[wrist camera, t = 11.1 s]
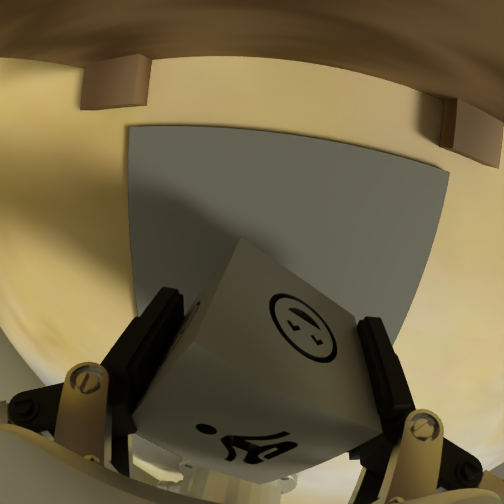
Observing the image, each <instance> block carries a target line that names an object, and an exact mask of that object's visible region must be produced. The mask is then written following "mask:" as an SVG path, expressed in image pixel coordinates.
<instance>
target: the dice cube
mask: <svg viewBox="0 0 504 504" xmlns="http://www.w3.org/2000/svg"><path fill="white" fill-rule="evenodd" d="M131 417H132V419H133V421H134V424H135V426H136V428H137V431H136V433H135V434H137V435H139V436H141V437H142V438H144V439H146V440H148V441H150V442H152V443H154V444H156V445H158V446H160V447H162V448H164V449H166V450H168V451H170V452H172V453H174V454H177V455H179V456H181V457H183V458H185V459H188V460H190V461H193V462H195V463H197V464H200V465H202V466H205V467H207V468H210V469H213V470H215V471H218V472H221V473H224V474H227V475H230V476H233V477H236V478H239V479H242V480H245V481H249V482H252V483H256V484H259V485H261V484H264V483H268V482H271V481H274V480H277V479H280V478H283V477H286V476H289V475H292V474H295V473H298V472H300V471H303V470H306V469H308V468H311V467H313V466H316V465H318V464H321V463H323V462H325V461H328V460H330V459H332V458H334V457H337V456H339V455H341V454H343V453H345V452H347V451H349V450H351V449H353V448H355V447H357V446H359V445H361V444H363V443H365V442H367V441H369V440H370V439H372V438H374V437H376V436H378V435H379V434H381V433H383V432H382V427H381V422H380V417H379V415H378V413H377V408H376V403H375V398H374V394H373V389H372V385H371V381H370V376H369V372H368V368H367V364H366V360H365V356H364V352H363V349H362V345H361V341H360V337H359V334H358V330H357V324H356V320H355V317H354V315H352V314H351V313H349V312H348V311H346V310H345V309H344V308H342V307H341V306H339V305H338V304H337V303H335V302H334V301H332V300H331V299H329V298H328V297H327V296H325V295H324V294H322V293H321V292H320V291H318V290H317V289H315V288H314V287H312V286H311V285H310V284H308V283H307V282H305V281H304V280H303V279H301V278H300V277H298V276H297V275H295V274H294V273H293V272H291V271H290V270H288V269H287V268H285V267H284V266H283V265H281V264H280V263H278V262H277V261H275V260H274V259H273V258H271V257H270V256H268V255H267V254H265V253H264V252H263V251H261V250H260V249H258V248H257V247H255V246H254V245H253V244H251V243H250V242H248V241H247V240H245V239H244V238H243V237H241V238H240V239H239V240H238V242H237V243H236V244H235V246H234V247H233V248H232V250H231V251H230V253H229V254H228V255H227V257H226V258H225V259H224V261H223V262H222V263H221V265H220V266H219V268H218V269H217V270H216V272H215V273H214V274H213V276H212V277H211V279H210V280H209V281H208V283H207V284H206V285H205V287H204V288H203V290H202V291H201V292H200V294H199V295H198V297H197V298H196V299H195V301H194V302H193V303H192V305H191V306H190V308H189V309H188V310H187V312H186V313H185V315H184V319H183V321H182V323H181V324H180V326H179V328H178V330H177V332H176V334H175V336H174V337H173V339H172V341H171V343H170V345H169V347H168V349H167V351H166V353H165V355H164V357H163V359H162V361H161V362H160V364H159V366H158V368H157V370H156V372H155V373H154V375H153V377H152V379H151V381H150V383H149V385H148V387H147V389H146V391H145V393H144V395H143V396H142V398H141V399H140V400H139V401H138V404H137V406H136V407H135V409H134V411H133V413H132V415H131Z"/></svg>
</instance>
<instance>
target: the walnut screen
mask: <svg viewBox="0 0 504 504" xmlns="http://www.w3.org/2000/svg"><path fill="white" fill-rule="evenodd" d="M191 56H248V57H264V58H276V59H285V60H294V61H301V62H308V63H315V64H321V65H326V66H332V67H337V68H342V69H346V70H351V71H355V72H359V73H363V74H367V75H371V76H375V77H378V78H382V79H385V80H389V81H392V82H395V83H398V84H402V85H405V86H408V87H410V88H413V89H416V90H419V91H422V92H424V93H427V94H430V95H432V96H435V97H437V98H440V99H442V100H444V108H443V120H442V130H441V138H440V146H439V147H441V148H444V149H447V150H449V151H452V152H455V153H457V154H460V155H462V156H465V157H467V158H470V159H472V160H474V161H477V162H479V163H481V164H483V165H486V166H490V167H494V168H498V169H499V164H500V157H501V148H502V139H503V126H504V0H0V57H3V58H17V59H28V60H37V61H45V62H52V63H58V64H64V65H70V66H75V67H81V68H85V72H84V79H83V87H82V96H81V107H80V110H103V109H111V108H121V107H133V106H147V96H148V87H149V79H150V71H151V64H152V60H154V59H164V58H175V57H191Z"/></svg>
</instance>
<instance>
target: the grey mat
mask: <svg viewBox="0 0 504 504" xmlns="http://www.w3.org/2000/svg"><path fill="white" fill-rule="evenodd" d="M449 175H450V172H448V171H445V170H442V169H439V168H436V167H433V166H430V165H426V164H423V163H420V162H416V161H413V160H410V159H406V158H402V157H399V156H395V155H391V154H387V153H383V152H379V151H375V150H371V149H367V148H362V147H358V146H353V145H348V144H343V143H338V142H333V141H327V140H322V139H316V138H310V137H303V136H297V135H290V134H282V133H274V132H265V131H256V130H245V129H232V128H217V127H193V126H142V127H130V134H129V158H128V206H129V231H130V246H131V259H132V270H133V280H134V289H135V297H136V304H137V311H138V317H140V316H141V314H142V313H143V312H144V310H145V309H146V308H147V306H148V305H149V304H150V302H151V301H152V300H153V298H154V297H155V296H156V294H157V293H158V292H159V290H160V289H161V288H162V287H169V288H174V289H178V290H179V294H183V297H184V315H185V313H186V312H187V310H188V309H189V308H190V306H191V305H192V303H193V302H194V301H195V299H196V298H197V297H198V295H199V294H200V292H201V291H202V290H203V288H204V287H205V285H206V284H207V283H208V281H209V280H210V279H211V277H212V276H213V274H214V273H215V272H216V270H217V269H218V268H219V266H220V265H221V263H222V262H223V261H224V259H225V258H226V257H227V255H228V254H229V253H230V251H231V250H232V248H233V247H234V246H235V244H236V243H237V242H238V240H239V239H240V238H241V237H243V238H244V239H245V240H247V241H248V242H250V243H251V244H253V245H254V246H255V247H257V248H258V249H260V250H261V251H263V252H264V253H265V254H267V255H268V256H270V257H271V258H273V259H274V260H275V261H277V262H278V263H280V264H281V265H283V266H284V267H285V268H287V269H288V270H290V271H291V272H293V273H294V274H295V275H297V276H298V277H300V278H301V279H303V280H304V281H305V282H307V283H308V284H310V285H311V286H312V287H314V288H315V289H317V290H318V291H320V292H321V293H322V294H324V295H325V296H327V297H328V298H329V299H331V300H332V301H334V302H335V303H337V304H338V305H339V306H341V307H342V308H344V309H345V310H346V311H348V312H349V313H351V314H352V315H354V317H355V320H356V324H358V322H359V320H363V319H364V318H365V317H366V316H370V317H380V318H381V319H382V321H383V324H384V326H385V329H386V332H387V334H388V337H389V339H390V342H391V344H392V346H393V344H394V342H395V340H396V338H397V336H398V333H399V331H400V329H401V327H402V325H403V322H404V320H405V318H406V316H407V313H408V311H409V308H410V306H411V304H412V301H413V299H414V296H415V294H416V291H417V288H418V286H419V283H420V280H421V278H422V275H423V272H424V269H425V266H426V263H427V260H428V257H429V254H430V251H431V248H432V244H433V241H434V238H435V234H436V231H437V227H438V223H439V220H440V216H441V212H442V208H443V203H444V199H445V195H446V190H447V185H448V180H449Z"/></svg>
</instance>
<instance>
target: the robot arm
mask: <svg viewBox="0 0 504 504" xmlns="http://www.w3.org/2000/svg"><path fill="white" fill-rule="evenodd" d="M183 319H184V297H183V294H179V290H178V289H174V288H169V287H162V288H161V289H160V290H159V292H158V293H157V294H156V296H155V297H154V298H153V300H152V301H151V302H150V304H149V305H148V306H147V308H146V309H145V310H144V312H143V313H142V314H141V316H140V317H138V316H137V317H135V318H134V319H133V320H132V321H131V323H130V324H129V325H128V327H127V328H126V329H125V331H124V332H123V333H122V335H121V336H120V338H119V339H118V340H117V342H116V343H115V344H114V346H113V347H112V349H111V350H110V351H109V353H108V354H107V356H106V357H105V358H104V360H103V361H102V363H101V364H100V365H99V364H97V363H94V362H83V363H80V364H77V365H75V366H74V367H72V368H71V369H70V370H69V371H68V373H67V375H66V377H65V381H64V383H60V384H55V385H51V386H47V387H43V388H38V389H34V390H29V391H24V392H21V393H18V394H17V395H15V396H14V397H13V398H12V399H11V401H10V403H8V402H7V401H0V504H280V500H281V495H282V494H285V493H288V492H290V491H292V490H293V489H294V488H295V487H296V485H297V475H296V473H295V474H292V475H289V476H286V477H283V478H280V479H277V480H274V481H271V482H268V483H264V484H261V485H259V484H256V483H252V482H249V481H245V480H242V479H239V478H236V477H233V476H230V475H227V474H224V473H221V472H218V471H215V470H213V469H210V468H207V467H205V466H202V465H200V464H197V463H195V462H193V461H190V460H188V459H185V458H183V457H182V459H181V460H180V464H179V467H178V468H179V471H180V472H181V474H182V475H183V476H184V478H183V480H180V481H178V482H177V483H176V482H173V481H164V480H162V481H159V482H158V484H157V487H154V486H151V485H148V484H146V483H143V482H140V481H137V480H134V472H133V456H132V434H133V433H136V431H137V428H136V426H135V424H134V421H133V419H132V417H131V415H132V413H133V411H134V409H135V407H136V406H137V404H138V401H139V400H140V399H141V398H142V396H143V395H144V393H145V391H146V389H147V387H148V385H149V383H150V381H151V379H152V377H153V375H154V373H155V372H156V370H157V368H158V366H159V364H160V362H161V361H162V359H163V357H164V355H165V353H166V351H167V349H168V347H169V345H170V343H171V341H172V339H173V337H174V336H175V334H176V332H177V330H178V328H179V326H180V324H181V323H182V321H183ZM357 330H358V334H359V337H360V341H361V345H362V349H363V352H364V356H365V360H366V364H367V368H368V372H369V376H370V381H371V385H372V389H373V394H374V398H375V403H376V408H377V413H378V415H379V417H380V422H381V427H382V432H383V433H381V434H379V435H378V436H376V437H374V438H372V439H370V440H369V441H367V442H365V443H363V444H361V445H359V446H357V447H355V448H353V449H351V450H349V451H347V452H349V460H357V459H360V464H361V465H362V466H363V468H362V470H361V473H360V476H359V478H358V481H357V484H356V486H355V488H354V491H353V493H352V496H351V498H350V500H349V503H348V504H504V480H503V479H501V478H499V477H498V476H496V475H494V474H492V473H491V472H489V471H487V470H485V471H484V472H483V469H482V465H481V463H480V462H479V460H478V459H477V458H476V457H474V456H473V455H471V454H470V453H468V452H466V451H465V450H463V449H462V448H460V447H458V446H457V445H455V444H454V443H452V442H450V441H449V440H447V439H446V438H444V437H443V434H444V428H443V424H442V421H441V419H440V418H439V417H438V416H437V415H436V414H435V413H433V412H432V411H429V410H426V409H418V410H416V409H415V405H414V402H413V399H412V396H411V393H410V390H409V387H408V384H407V381H406V378H405V375H404V372H403V369H402V367H401V364H400V361H399V358H398V356H397V355H396V354H395V352H394V350H393V347H392V344H391V342H390V339H389V337H388V334H387V332H386V329H385V326H384V324H383V321H382V319H381V318H380V317H370V316H366V317H365V318H364V319H363V320H359V322H358V324H357Z"/></svg>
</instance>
